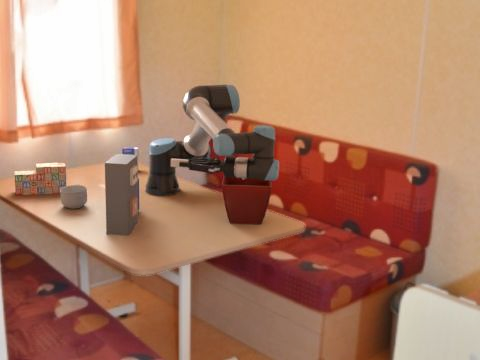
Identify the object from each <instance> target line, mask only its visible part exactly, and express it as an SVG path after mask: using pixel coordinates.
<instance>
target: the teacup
mask: <svg viewBox="0 0 480 360" xmlns="http://www.w3.org/2000/svg"><path fill="white" fill-rule="evenodd" d="M59 194H60V200H61V204H62V205H63V206H64V207H65V208H67V209H69V208H70V209H71V210H72V209H73V210H75V209H81V208H83V207H84V206H85V205H86V204H87V202H88V187H87V186H86V185H82V184H80V183H77V184H70V185H66V187H63V188H61V189H60V193H59ZM70 209H69V210H70Z"/></svg>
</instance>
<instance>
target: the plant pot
mask: <svg viewBox="0 0 480 360" xmlns="http://www.w3.org/2000/svg"><path fill="white" fill-rule="evenodd" d="M272 183H273V182H272V180H258V179H247V178H245V179H244V180H243V179H242V178H236V176H235V177H234V178H232V177H225V176H224V175H223V179H222V183H221V188H222V189H221V190H222V197H223V203H224V208H225V212H226V215H227V220H228V222H229V223H230V224H240V225H241V224H243V225H262V224H263V222H264V220H265V216H266V214H267V211H268V206H269V204H270V199H271V193H272V187H273V184H272Z"/></svg>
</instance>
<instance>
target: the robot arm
mask: <svg viewBox="0 0 480 360" xmlns="http://www.w3.org/2000/svg"><path fill="white" fill-rule="evenodd" d="M240 102H241V101H240V94H239V91H238V89H237V87H236V86H235V85H233V84H225V83H224V84H214V85H213V84H211V85H207V84H206V85H197V86H194V87H192V88H190V89H189V90H188V91H187V92H186V93H185V94H184V96H183V100H182V109H183V112H184V113H185V115H186V116H187V117H188V118H189V119H190V120H193V121H195V122H196V124H195V125H194V128H193V129H192V131H191V133H190V134H187V135H186V136H185V137H184V139H183V140H180V141H179V140H176V138H174V137H168V138H167V137H165V138H158V139H155V140H152V141H151V142H150V143H149V148H148V149H149V150H148V154H149V155H148V156H149V159H148V160H149V166H148V167H149V173H148V177H147V181H146V184H145V192H146V193H147V194H149V195H153V196H171V195H175V194H178V193H179V192H180V183H179V180H178V177H177V174H176V172H177V171H176V170H177V169H176V168H182V169H183V168H184V169H185V168H186V169H188V170H189V171H194V172H199V173H200V172H202V173H208V174H211V175H213V174H215V173H217V174H218V173H223V177H224V176H225V177H232V178H234V177H235V176H236V178H242V179H243V180H244V179H245V178H247V179H258V180H271V181H276V180H278V177H279V174H280V161H279V160H278V159H275V155H274V153H275V146H276V145H275V144H276V143H275V142H276V129H275V128H274V127H273V126H272V125H268V124H258V125H255V126H254V127H253V131H252V132H238V133H236V132H235V131H234V130H233V128H232V127H230V126H229V125H228V124H227V123H226V121H227V119H228V117H229V116H230V115H234V114H237V113H239V111H240V107H241V106H240V105H241V104H240ZM211 140H212V148H213V150H214V154H215V155H217V156H218V157H216V158H215V157H214V158H212V157H211V147H210V144H209V142H210V141H211ZM241 155H252V157H244V156H243V157H242V156H241ZM236 156H238V157H236ZM219 157H225V158H224V160H221V159H220V158H219Z"/></svg>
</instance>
